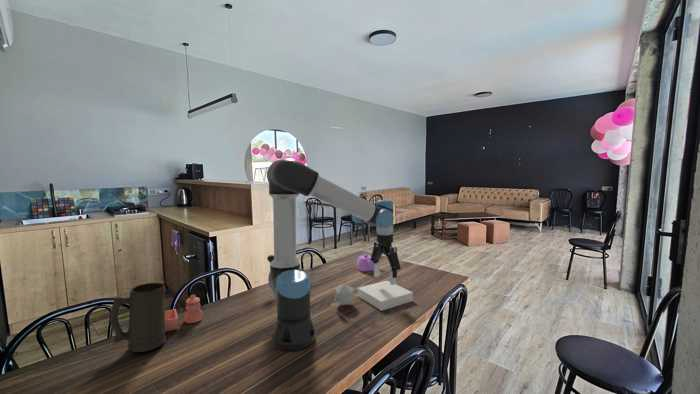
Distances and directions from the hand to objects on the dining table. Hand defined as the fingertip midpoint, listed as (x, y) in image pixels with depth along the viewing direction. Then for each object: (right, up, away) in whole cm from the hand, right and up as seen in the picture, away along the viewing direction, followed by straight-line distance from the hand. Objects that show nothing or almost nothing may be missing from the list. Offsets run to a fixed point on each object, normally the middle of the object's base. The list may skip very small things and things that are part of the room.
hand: (384, 280), depth 136 cm
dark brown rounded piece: (-48, -8, +12) cm, 50 cm away
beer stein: (-86, -12, -37) cm, 95 cm away
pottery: (-83, -11, -22) cm, 87 cm away
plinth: (0, -9, +1) cm, 9 cm away
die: (-19, -10, -6) cm, 22 cm away
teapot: (-4, -6, +41) cm, 41 cm away
